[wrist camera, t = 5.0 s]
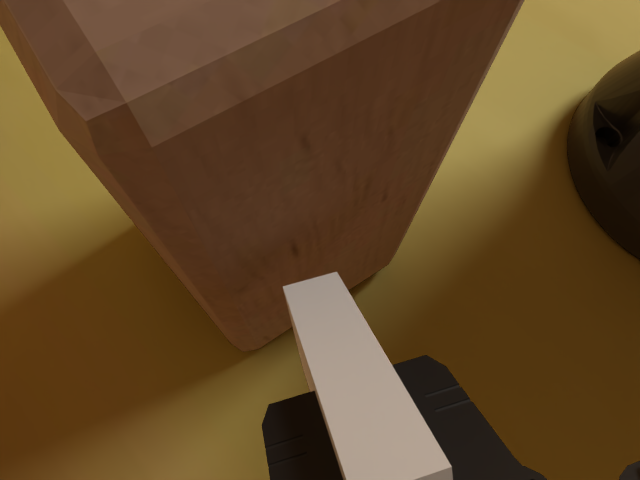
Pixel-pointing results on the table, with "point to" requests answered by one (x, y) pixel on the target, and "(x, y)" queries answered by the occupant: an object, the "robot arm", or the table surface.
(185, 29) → the wooden block
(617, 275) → the table surface
